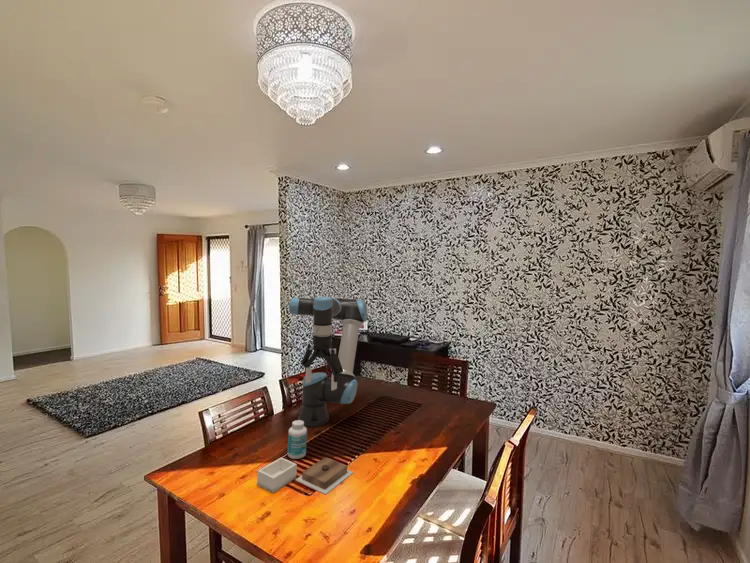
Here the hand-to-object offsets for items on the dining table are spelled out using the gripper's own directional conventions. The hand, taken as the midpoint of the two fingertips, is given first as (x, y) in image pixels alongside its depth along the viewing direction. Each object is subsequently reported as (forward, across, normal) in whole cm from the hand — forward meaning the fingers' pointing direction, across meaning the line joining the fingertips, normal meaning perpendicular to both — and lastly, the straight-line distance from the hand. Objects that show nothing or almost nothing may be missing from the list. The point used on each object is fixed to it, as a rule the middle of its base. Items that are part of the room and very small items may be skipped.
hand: (320, 385), depth 148 cm
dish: (+27, +1, -24) cm, 37 cm away
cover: (+27, +13, -13) cm, 33 cm away
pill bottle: (+28, -6, -7) cm, 29 cm away
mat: (+28, +13, -13) cm, 33 cm away
